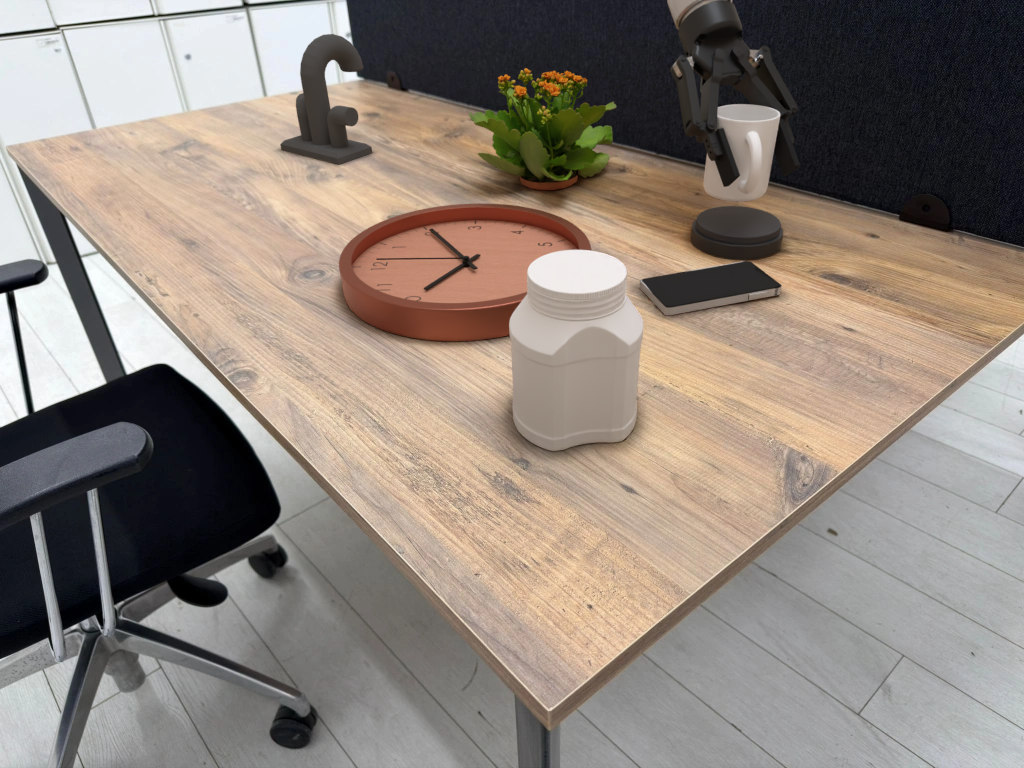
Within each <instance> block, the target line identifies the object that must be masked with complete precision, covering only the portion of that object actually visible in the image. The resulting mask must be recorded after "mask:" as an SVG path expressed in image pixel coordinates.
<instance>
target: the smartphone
mask: <svg viewBox="0 0 1024 768" xmlns="http://www.w3.org/2000/svg"><path fill="white" fill-rule="evenodd" d="M782 288H783V287H782V284H781V283H780V282H778V281H777V280H776V279H775V278H773V277H772V276H771V275H769V274H767V273H766V272H765V271H764V270H763V269H762V268H760V267H758V266H757V265H756V264H755V263H753V262H752V261H751V260H741V261H737V262H730V263H726V264H725V263H724V264H720V265H714V266H708V267H702V268H696V269H692V270H685V271H680V272H675V273H670V274H669V273H668V274H663V275H657V276H650V277H646V278H642V279H640V280H639V289H640V290H641V291H642V292H643V293H644V294H645V295H646V296H647V298H649V299H650V301H651V302H652V303H653V304H654V305H655V306H656V307H657V308H658V309H659V310H660V311H661V313H662V314H664V315H665V316H672V315H673V316H674V315H679V314H683V313H689V312H695V311H700V310H706V309H710V308H711V309H712V308H716V307H721V306H726V305H732V304H737V303H742V302H748V301H752V300H758V299H763V298H768V297H769V298H770V297H774V296H779V295H780V294H781V291H782Z"/></svg>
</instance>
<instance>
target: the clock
mask: <svg viewBox="0 0 1024 768" xmlns="http://www.w3.org/2000/svg"><path fill="white" fill-rule="evenodd" d="M564 250H590V251H592V245H591V242H590V240H589V238H588V236H587V235H586V233H584V230H583V231H582V229H580V227H578V226H577V225H575V224H574V223H572V222H571V221H569V220H567V219H565V218H563V217H561V216H559V215H556V214H553V213H551V212H547V211H544V210H542V209H541V210H540V209H537V208H532V207H527V206H520V205H513V204H503V203H481V202H480V203H479V202H478V203H457V204H448V205H447V204H445V205H439V206H433V207H428V208H423V209H417V210H413V211H410V212H409V211H408V212H405V213H402V214H399V215H396V216H392V217H390V218H387V219H385V220H381V221H379V222H377V223H375V224H373V225H371V226H369V227H368V228H366V229H364V230H362V231H360V233H358V234H357V235H356V236H354V237H353V238H352V239H351V240H350V241H349V242H348V243H347V244H346V245H345V247H344V248H343V249H342V251H341V253H340V256H339V258H338V259H339V260H338V270H339V275H340V280H341V286H342V291H343V296H344V300H345V303H346V304H347V306H348V307H349V309H350V311H352V313H354V315H356V317H358V318H359V319H360V320H362V321H364V322H365V323H367V324H369V325H370V326H372V327H374V328H376V329H379V330H382V331H384V332H388V333H391V334H394V335H398V336H400V337H405V338H411V339H418V340H424V341H425V340H426V341H435V342H436V341H438V342H469V341H470V342H471V341H472V342H473V341H481V340H488V339H489V340H490V339H497V338H503V337H507V336H510V333H509V321H510V318H511V315H512V314H513V312H514V311H515V309H516V308H517V307H518V305H519V304H520V303H521V301H522V300H523V299H524V297H525V296H526V295H527V290H528V289H527V284H528V283H527V270H528V267H529V266H530V264H531V263H532V262H533V261H534V260H536V259H537V258H539V257H541V256H544V255H546V254H549V253H553V252H557V251H564Z"/></svg>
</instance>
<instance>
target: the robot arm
mask: <svg viewBox="0 0 1024 768" xmlns="http://www.w3.org/2000/svg"><path fill="white" fill-rule="evenodd" d="M666 2H667V6H668V9H669V12H670V14H671V17H672V19H673V20H672V21H673V23H674V26H675V28H676V30H677V31H678V33H677V35H678V37H679V40H680V44H681V46H682V49H683V53H684V55H683V54H680V55H679V56H678V58H677V59H676V60H675V62H674V63H673V64H672V66H671V67H670V70H669V71H670V74H671V76H672V78H673V80H674V82H675V84H676V89H677V94H678V101H679V107H680V113H681V120H682V126H683V130H684V131H683V132H684V135H685V136H686V137H688V138H692V137H693V136H694V137H695V141H696V142H697V143H699V144H702V143H703V145H704V148H705V151H706V154H707V153H708V157H709V159H710V160H711V161H715V163H716V166H717V169H718V172H719V175H720V178H721V180H722V183H723V186H724V187H727V186H730V185H731V184H732V183H733V182H734V181H735V180H736V179H737V178H738V177H739V176H740V173H739V171H738V168H737V165H736V162H735V159H734V157H733V154H732V151H731V148H730V145H729V142H728V140H727V137H726V134H725V131H724V128H720V129H717V131H716V130H715V128H716V126H717V112H718V107H719V98H720V97H719V96H720V95H719V94H720V86H723V85H726V86H732V88H734V90H735V91H737V92H741V94H743V96H744V97H745V98H746V100H748V102H749V104H751V105H760V106H766V107H770V108H773V109H775V110H777V111H779V112H780V120H779V126H778V132H777V137H776V143H775V148H774V154H773V155H774V156H775V160H776V162H777V165H778V168H779V170H780V173H781V175H782V177H787V176H789V175H790V174H791V173H793V172H794V171H795V170H796V169H797V168H799V167H800V166H801V162H800V160H799V158H798V155H797V153H796V150H795V147H794V145H793V144H795V137H794V135H793V132H792V128H791V126H790V123H789V120H790V119H791V118H792V117H793V116H794V115H795V114H797V112H798V111H799V106H798V104H797V103H796V101H795V99H794V98H793V95H792V94H791V92H790V90H789V88H788V87H787V85H786V83H785V82H784V80H783V78H782V76H781V74H780V72H779V71H778V69H777V68H776V65H775V64H774V62H773V59H772V53H771V49H770V47H769V46H768V45H761V47H760V48H759V49H751V48H750V47H749V45H748V44H746V43H745V41H744V39H743V25H742V22H741V19H740V16H739V13H738V12H737V11H738V10H737V8H736V5H735V4H734V3H733V0H666ZM695 73H696V74H697V75H698V76H699V77H700V85H699V87H700V88H699V93H701V96H700V100H699V93H698V88H697V82H696V76H695Z"/></svg>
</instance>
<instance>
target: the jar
mask: <svg viewBox="0 0 1024 768" xmlns="http://www.w3.org/2000/svg"><path fill="white" fill-rule="evenodd" d="M527 283H528V284H527V289H528V290H527V295H526V296H525V297H524V299H523V300H522V301H521V303H520V304H519V305H518V307H517V308H516V309H515V311H514V312H513V314H512V315H511V318H510V321H509V333H510V335H509V339H510V350H511V351H510V352H511V375H512V376H511V377H512V404H511V405H512V407H511V408H512V420H513V423H514V426H515V428H516V429H517V431H518V432H519V434H521V436H523V438H525V440H527V441H528V442H530V443H531V444H534V445H535V446H537V447H538V448H542V449H544V450H547V451H551V452H559V451H563V450H566V449H569V448H572V447H576V446H580V445H581V446H582V445H586V444H595V443H609V444H612V443H619V442H622V441H624V440H625V439H626V438H627V437H628V436H629V435H630V434H631V433H632V431H633V429H634V427H635V425H636V421H637V411H638V404H637V400H638V399H637V398H638V386H639V372H640V363H641V362H640V361H641V347H642V341H643V339H644V338H643V336H644V320H643V317H642V315H641V314H640V311H638V309H637V308H636V306H635V305H634V303H633V302H632V301H631V299H630V298H629V295H627V287H628V286H627V285H628V268H627V267H626V265H625V264H624V263H623V262H622V261H621V260H620V259H619V258H617V257H615V256H613V255H610V254H609V253H608V254H607V253H604V252H600V251H596V250H591V251H590V250H564V251H557V252H553V253H549V254H546V255H544V256H541V257H539V258H537V259H536V260H534V261H533V262H532V263H531V264H530V266H529V267H528V270H527Z"/></svg>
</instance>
